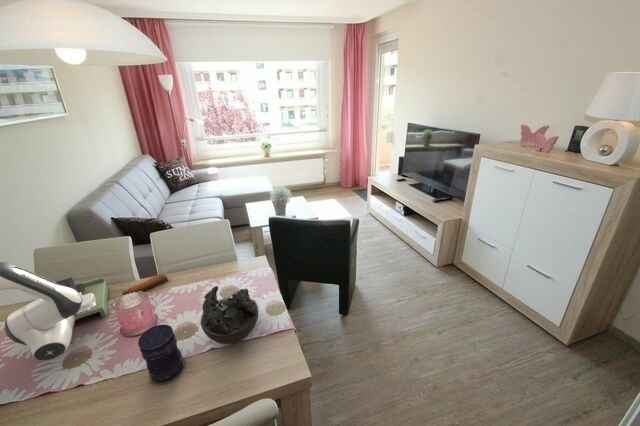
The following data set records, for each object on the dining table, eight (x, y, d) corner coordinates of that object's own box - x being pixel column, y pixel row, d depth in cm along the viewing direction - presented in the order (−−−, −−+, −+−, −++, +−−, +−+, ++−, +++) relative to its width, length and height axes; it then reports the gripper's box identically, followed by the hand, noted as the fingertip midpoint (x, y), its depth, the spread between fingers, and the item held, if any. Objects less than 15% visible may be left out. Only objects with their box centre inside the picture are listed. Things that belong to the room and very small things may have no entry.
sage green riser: (43, 339, 111) (35, 325, 108) (53, 306, 128) (47, 293, 125) (106, 316, 120) (100, 303, 117) (108, 288, 137) (103, 276, 134)
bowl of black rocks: (268, 343, 104) (261, 301, 97) (209, 366, 96) (198, 323, 89) (254, 308, 121) (247, 271, 113) (203, 326, 113) (192, 286, 105)
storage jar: (146, 386, 91) (131, 351, 85) (157, 359, 100) (144, 326, 94) (179, 380, 92) (167, 346, 86) (187, 354, 101) (177, 322, 95)
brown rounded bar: (161, 273, 146) (161, 266, 141) (168, 284, 143) (168, 277, 139) (120, 292, 134) (119, 285, 129) (127, 304, 131) (125, 297, 127)
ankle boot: (64, 314, 115) (52, 290, 110) (69, 293, 127) (58, 271, 122) (81, 309, 118) (70, 284, 113) (85, 289, 130) (74, 266, 125)
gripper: (91, 301, 104) (93, 282, 115) (14, 326, 94) (25, 303, 105) (97, 315, 107) (99, 295, 118) (23, 341, 97) (32, 316, 108)
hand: (63, 298), depth 111 cm, fingers open, 8 cm apart
